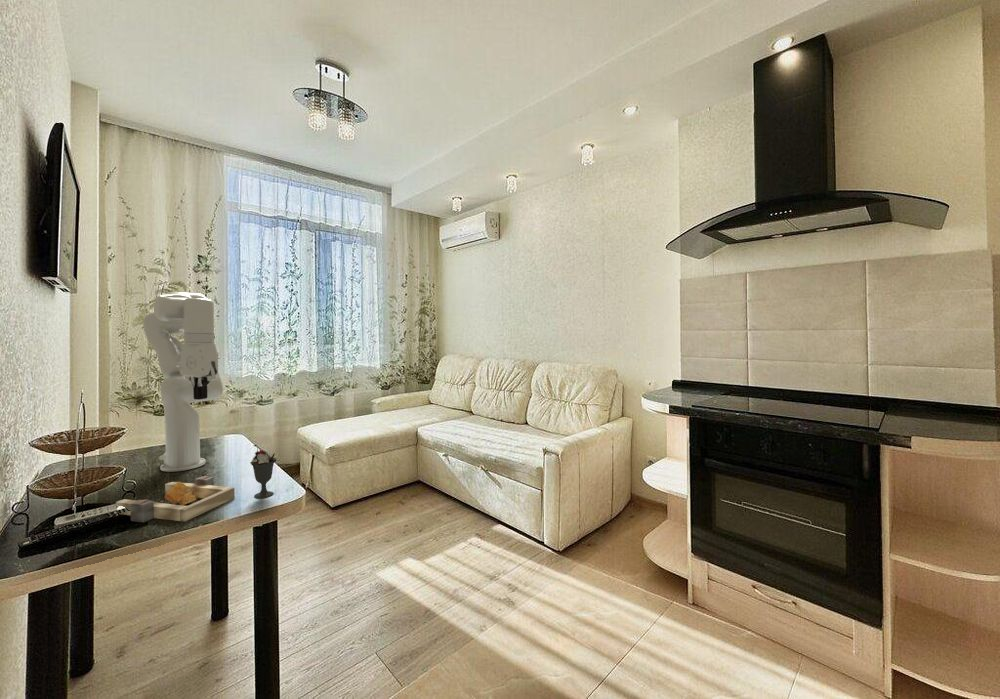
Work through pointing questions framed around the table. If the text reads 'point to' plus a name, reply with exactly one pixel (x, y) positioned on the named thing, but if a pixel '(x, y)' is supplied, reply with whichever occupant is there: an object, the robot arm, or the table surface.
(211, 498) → the light wooden frame
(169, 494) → the pyrite
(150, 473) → the table surface
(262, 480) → the sundae
